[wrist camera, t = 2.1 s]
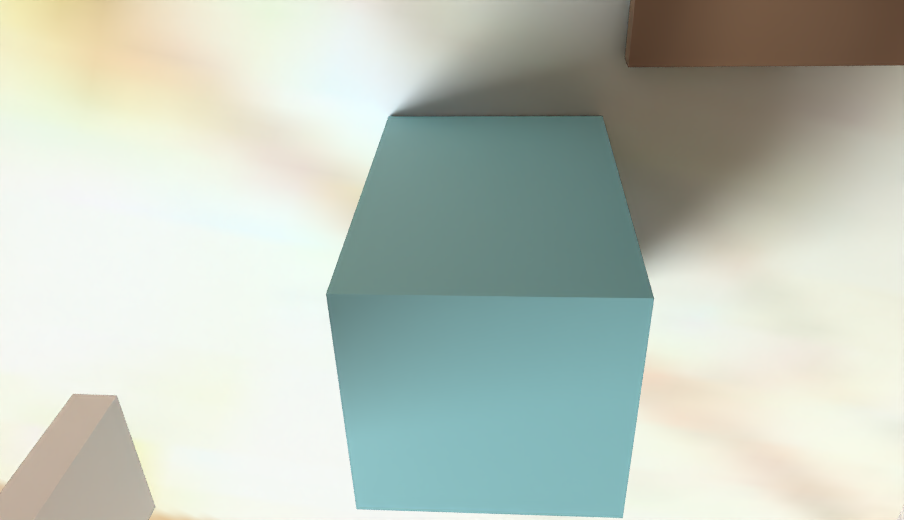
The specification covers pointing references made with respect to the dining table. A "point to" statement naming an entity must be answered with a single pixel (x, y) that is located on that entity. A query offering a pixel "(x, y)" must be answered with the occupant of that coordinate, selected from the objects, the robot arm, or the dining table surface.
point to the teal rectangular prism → (491, 319)
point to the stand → (765, 33)
